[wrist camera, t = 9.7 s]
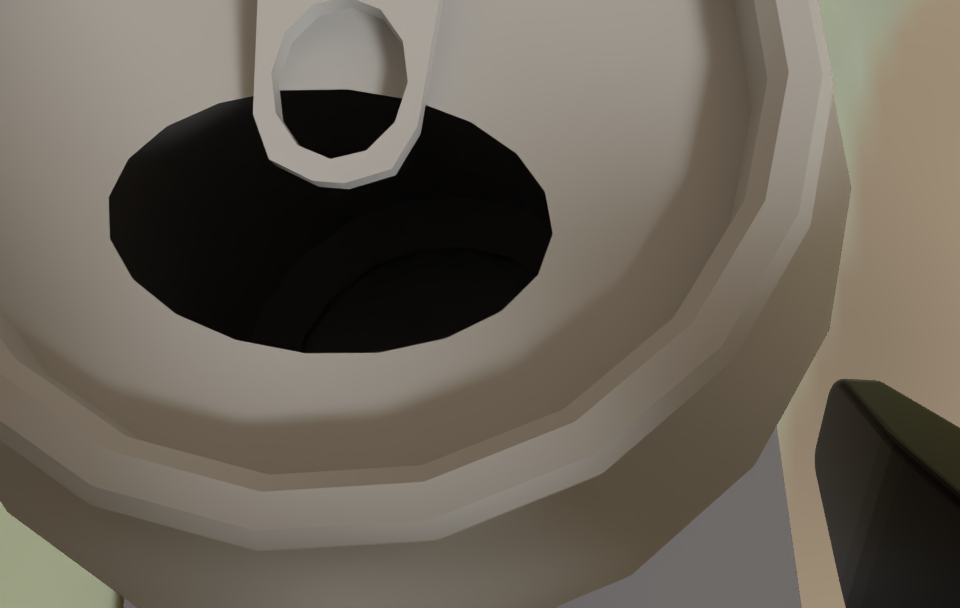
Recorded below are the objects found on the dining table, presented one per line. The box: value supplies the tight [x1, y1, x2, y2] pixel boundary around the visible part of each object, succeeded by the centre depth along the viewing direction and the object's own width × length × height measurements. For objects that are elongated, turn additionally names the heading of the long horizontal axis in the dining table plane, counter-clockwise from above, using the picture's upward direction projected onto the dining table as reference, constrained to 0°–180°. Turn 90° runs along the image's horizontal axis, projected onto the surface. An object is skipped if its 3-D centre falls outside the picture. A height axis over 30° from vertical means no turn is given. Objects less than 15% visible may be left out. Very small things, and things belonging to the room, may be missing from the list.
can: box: [0, 0, 851, 608], centre depth 11 cm, size 8×8×12 cm
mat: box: [123, 426, 801, 608], centre depth 17 cm, size 14×12×1 cm
